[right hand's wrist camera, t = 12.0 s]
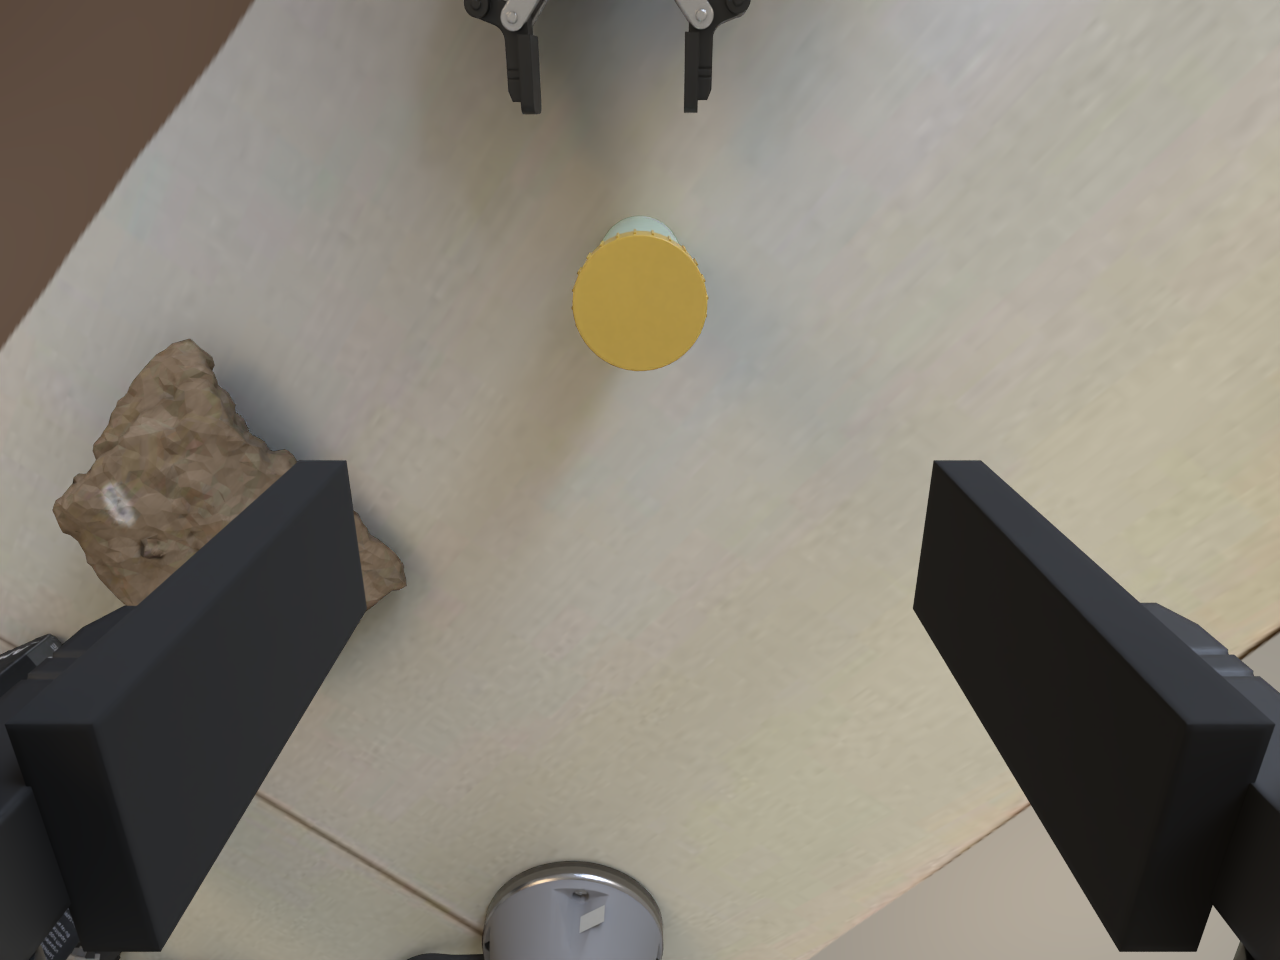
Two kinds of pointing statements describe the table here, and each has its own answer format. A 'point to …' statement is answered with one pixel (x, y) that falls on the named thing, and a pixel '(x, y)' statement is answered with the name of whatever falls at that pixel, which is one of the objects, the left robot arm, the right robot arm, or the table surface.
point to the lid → (639, 301)
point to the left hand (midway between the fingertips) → (610, 113)
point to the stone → (180, 481)
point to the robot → (92, 954)
